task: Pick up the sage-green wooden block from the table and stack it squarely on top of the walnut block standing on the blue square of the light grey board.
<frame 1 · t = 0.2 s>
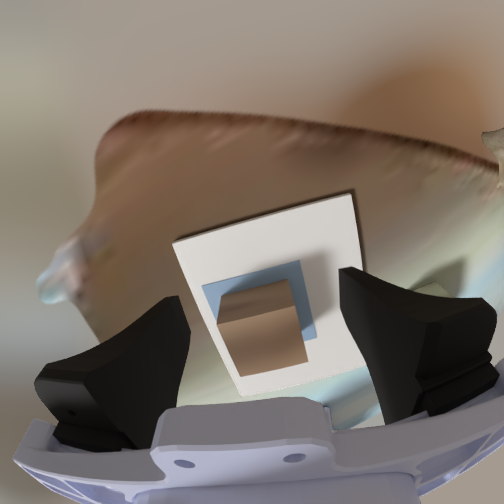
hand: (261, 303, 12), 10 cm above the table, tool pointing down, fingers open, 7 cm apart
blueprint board: (287, 313, 24), on the table
beige lumpy piece: (499, 159, 19), on the table
walnut base: (262, 314, 23), point 1 cm above the table, touching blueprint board
sage block: (417, 306, 24), on the table
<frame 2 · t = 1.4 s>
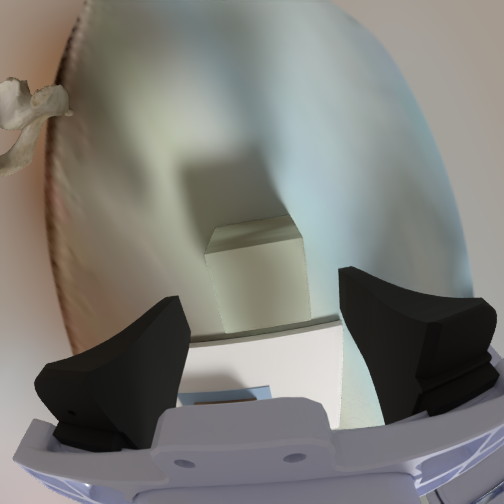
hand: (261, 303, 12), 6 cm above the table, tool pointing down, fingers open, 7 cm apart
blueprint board: (238, 398, 22), on the table
beige lumpy piece: (44, 116, 14), on the table
sage block: (258, 255, 18), on the table
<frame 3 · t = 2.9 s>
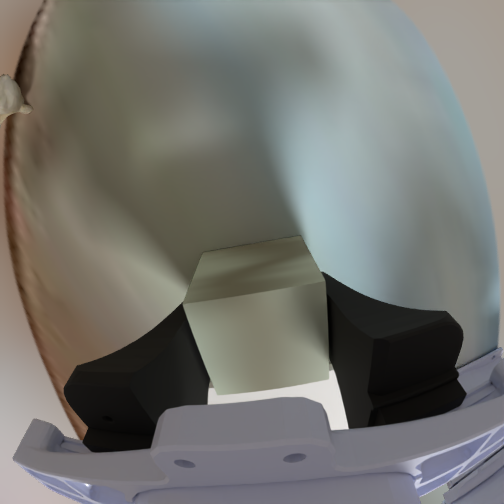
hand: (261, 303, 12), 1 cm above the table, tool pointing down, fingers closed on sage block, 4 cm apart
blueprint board: (236, 436, 18), on the table
beige lumpy piece: (4, 114, 10), on the table
sage block: (259, 287, 14), on the table, touching gripper
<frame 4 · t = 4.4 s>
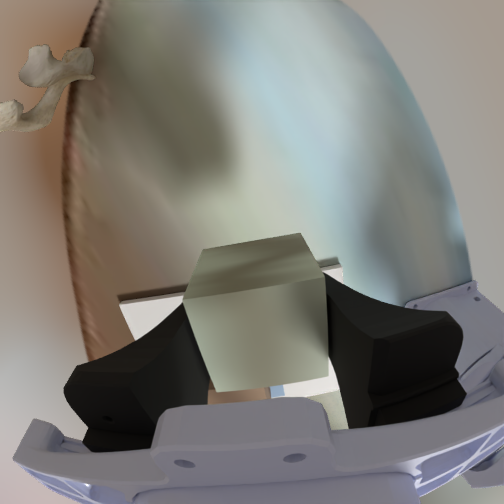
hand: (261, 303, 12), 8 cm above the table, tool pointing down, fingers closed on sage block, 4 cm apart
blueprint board: (242, 353, 24), on the table
beige lumpy piece: (66, 81, 15), on the table
walnut base: (236, 375, 24), point 1 cm above the table, touching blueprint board
sage block: (259, 284, 14), point 7 cm above the table, touching gripper
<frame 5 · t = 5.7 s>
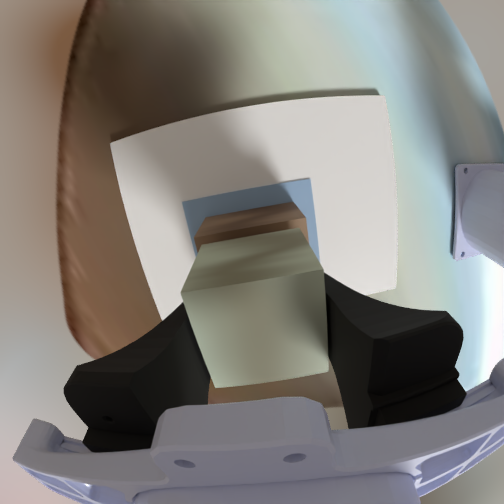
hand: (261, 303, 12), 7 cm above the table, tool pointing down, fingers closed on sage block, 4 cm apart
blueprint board: (266, 215, 18), on the table
walnut base: (256, 250, 18), point 1 cm above the table, touching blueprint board
sage block: (258, 280, 14), point 6 cm above the table, touching gripper
when the fingers open (7 cm above the table, at t = 6.3 s): sage block stays where it is, resting on walnut base.
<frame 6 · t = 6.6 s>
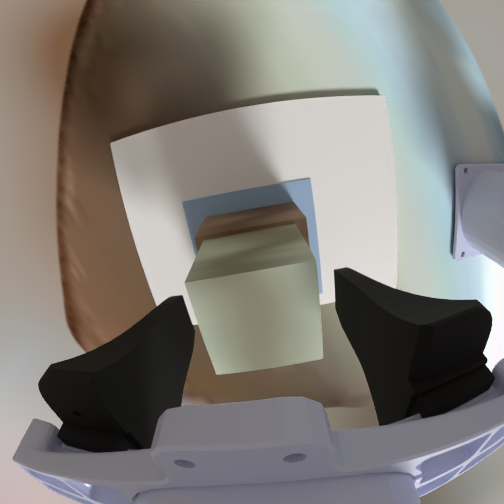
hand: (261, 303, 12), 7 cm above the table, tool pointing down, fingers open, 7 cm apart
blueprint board: (266, 215, 18), on the table
walnut base: (257, 250, 18), point 1 cm above the table, touching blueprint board, sage block
sage block: (257, 273, 14), point 5 cm above the table, touching walnut base
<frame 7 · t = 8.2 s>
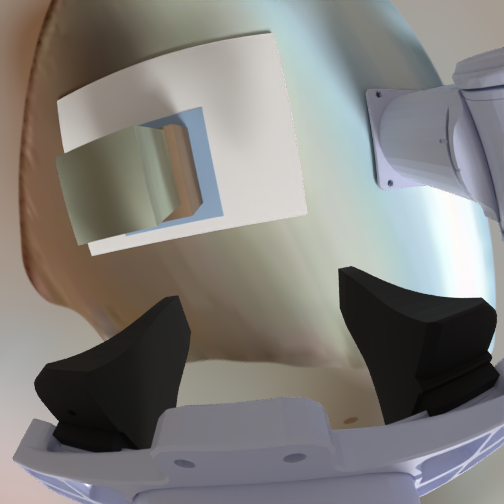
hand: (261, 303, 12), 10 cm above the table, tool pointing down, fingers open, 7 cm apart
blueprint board: (168, 144, 19), on the table
walnut base: (159, 174, 19), point 1 cm above the table, touching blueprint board, sage block
sage block: (136, 176, 15), point 5 cm above the table, touching walnut base
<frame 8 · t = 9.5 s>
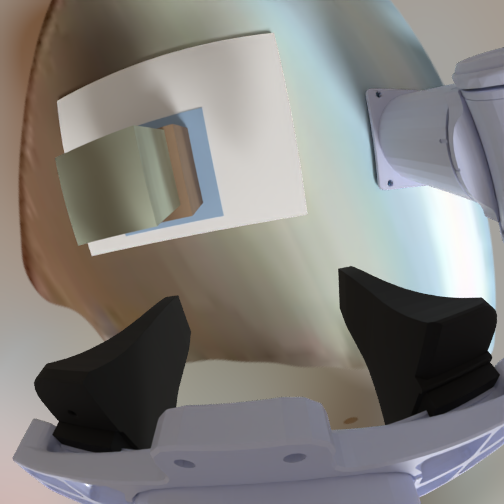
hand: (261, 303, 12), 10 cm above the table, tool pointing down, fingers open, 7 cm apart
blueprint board: (168, 144, 19), on the table
walnut base: (159, 174, 19), point 1 cm above the table, touching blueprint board, sage block
sage block: (136, 176, 15), point 5 cm above the table, touching walnut base
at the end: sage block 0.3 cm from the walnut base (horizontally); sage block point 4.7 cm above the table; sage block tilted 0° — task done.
